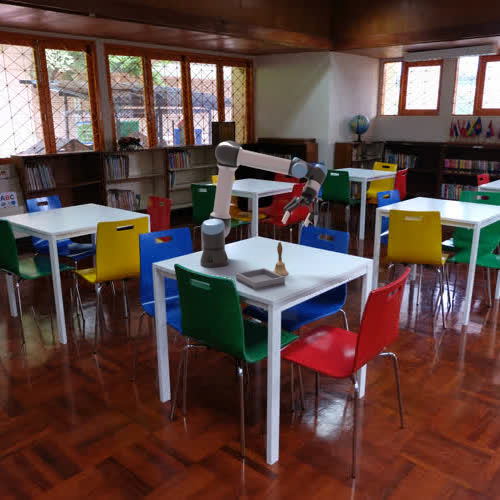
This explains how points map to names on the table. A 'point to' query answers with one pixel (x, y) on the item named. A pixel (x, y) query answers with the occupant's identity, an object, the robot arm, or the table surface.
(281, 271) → the hand bell
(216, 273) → the table surface
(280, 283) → the tray
